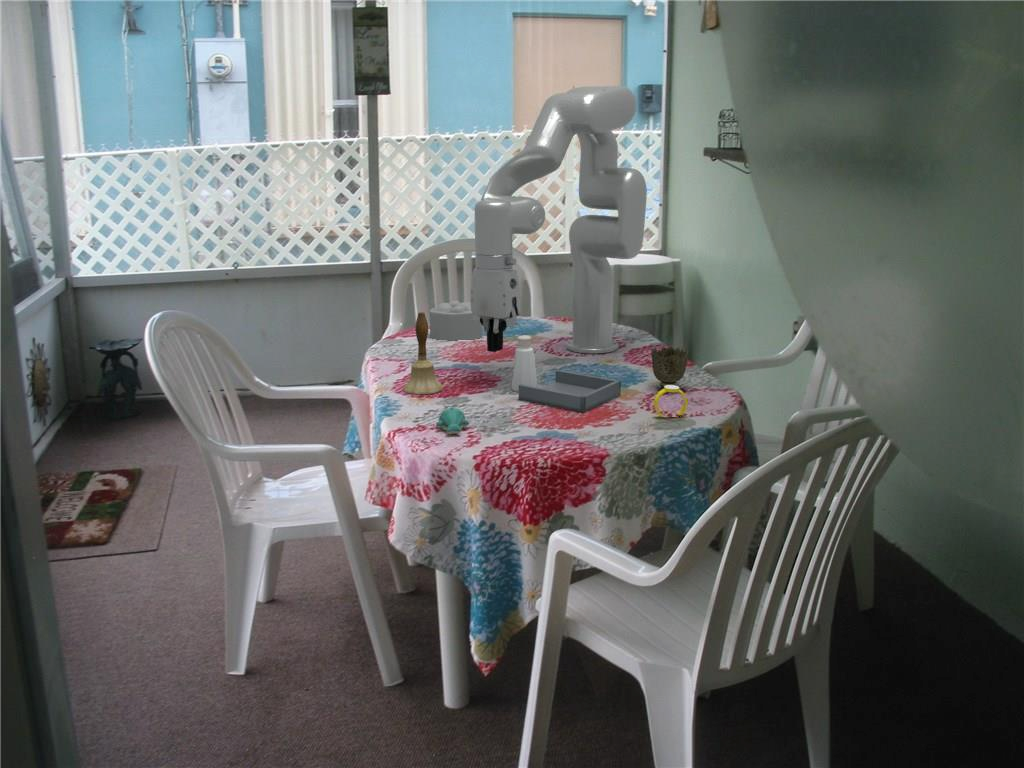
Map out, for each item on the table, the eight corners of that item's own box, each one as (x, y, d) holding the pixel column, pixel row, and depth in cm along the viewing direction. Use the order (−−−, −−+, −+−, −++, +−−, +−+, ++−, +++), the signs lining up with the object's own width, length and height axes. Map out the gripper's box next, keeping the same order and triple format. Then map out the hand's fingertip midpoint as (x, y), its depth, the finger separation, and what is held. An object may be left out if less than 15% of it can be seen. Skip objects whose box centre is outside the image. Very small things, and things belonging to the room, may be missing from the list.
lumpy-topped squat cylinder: (484, 340, 234) (483, 306, 232) (432, 342, 232) (431, 308, 230) (478, 331, 244) (477, 298, 242) (428, 333, 242) (427, 300, 240)
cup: (664, 395, 186) (665, 356, 184) (642, 386, 193) (644, 348, 191) (694, 390, 190) (696, 351, 188) (672, 381, 196) (673, 344, 194)
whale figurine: (468, 424, 170) (467, 404, 169) (470, 437, 163) (469, 416, 162) (436, 425, 170) (435, 405, 169) (436, 438, 163) (436, 417, 162)
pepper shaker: (535, 393, 189) (535, 340, 186) (509, 391, 190) (508, 338, 187) (539, 385, 194) (540, 334, 191) (514, 384, 195) (513, 333, 192)
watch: (682, 415, 175) (686, 385, 173) (687, 420, 172) (690, 389, 170) (651, 414, 174) (654, 384, 172) (655, 419, 171) (658, 388, 170)
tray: (557, 383, 195) (557, 369, 194) (620, 395, 187) (620, 380, 186) (518, 399, 184) (518, 385, 183) (583, 412, 176) (583, 397, 175)
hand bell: (406, 383, 196) (403, 309, 192) (445, 383, 196) (443, 308, 192) (400, 395, 188) (397, 317, 184) (441, 395, 188) (439, 317, 184)
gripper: (534, 263, 188) (535, 351, 193) (476, 257, 196) (478, 342, 201) (512, 267, 182) (513, 359, 187) (453, 261, 190) (455, 349, 195)
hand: (495, 350), depth 194 cm, fingers closed
